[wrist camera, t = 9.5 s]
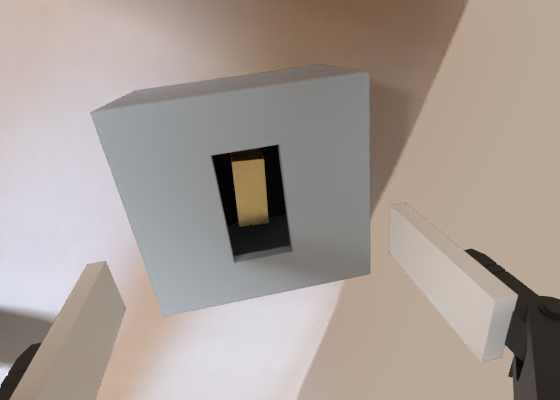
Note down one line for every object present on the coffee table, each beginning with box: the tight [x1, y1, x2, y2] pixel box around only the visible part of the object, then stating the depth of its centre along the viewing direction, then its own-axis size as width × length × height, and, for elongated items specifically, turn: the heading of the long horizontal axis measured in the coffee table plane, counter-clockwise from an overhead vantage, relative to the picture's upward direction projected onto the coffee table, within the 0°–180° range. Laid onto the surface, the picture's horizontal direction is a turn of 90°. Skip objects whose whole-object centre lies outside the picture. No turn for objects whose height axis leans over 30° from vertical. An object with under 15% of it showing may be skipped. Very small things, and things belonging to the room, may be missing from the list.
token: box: [231, 148, 269, 227], centre depth 27 cm, size 5×2×7 cm, turn 3°
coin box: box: [90, 65, 370, 317], centre depth 25 cm, size 14×15×10 cm
